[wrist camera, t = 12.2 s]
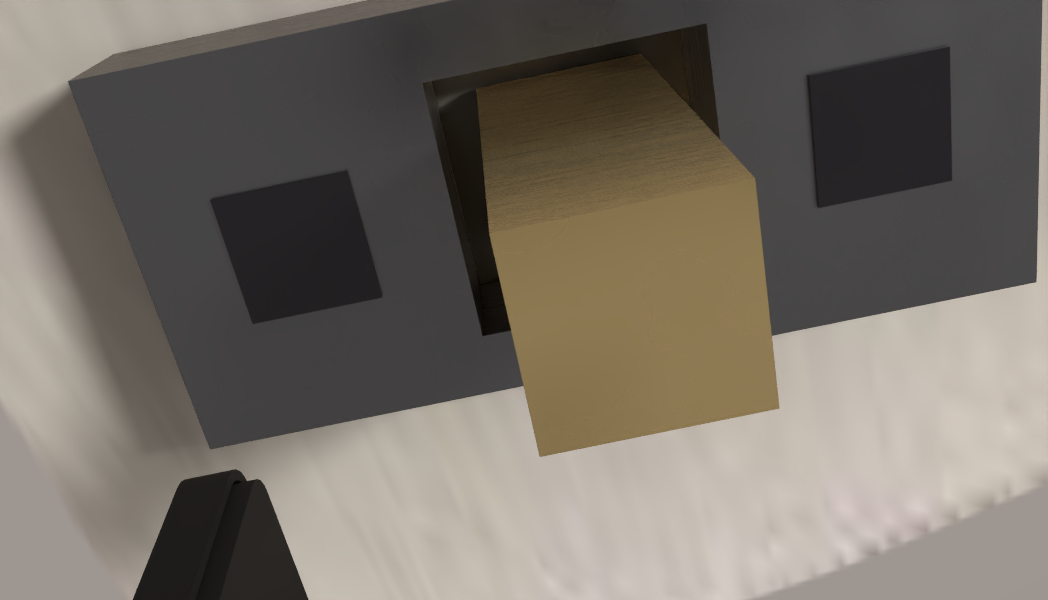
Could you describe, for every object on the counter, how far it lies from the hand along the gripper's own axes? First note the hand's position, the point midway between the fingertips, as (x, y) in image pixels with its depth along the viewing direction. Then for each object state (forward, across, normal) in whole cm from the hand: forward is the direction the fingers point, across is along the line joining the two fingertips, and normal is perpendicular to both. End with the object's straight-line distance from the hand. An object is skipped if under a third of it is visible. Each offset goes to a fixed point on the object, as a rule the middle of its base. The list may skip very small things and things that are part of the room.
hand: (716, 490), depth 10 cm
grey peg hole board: (+15, 0, +1) cm, 15 cm away
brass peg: (+15, 0, +1) cm, 15 cm away
